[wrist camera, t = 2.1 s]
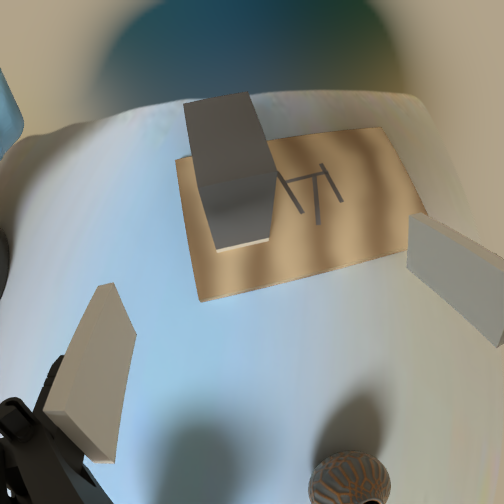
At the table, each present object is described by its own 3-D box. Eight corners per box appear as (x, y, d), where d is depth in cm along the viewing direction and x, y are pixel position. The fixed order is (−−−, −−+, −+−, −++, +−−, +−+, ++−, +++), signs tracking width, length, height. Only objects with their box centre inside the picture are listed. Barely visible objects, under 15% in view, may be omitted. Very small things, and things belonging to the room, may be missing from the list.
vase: (380, 480, 22) (420, 511, 14) (318, 513, 21) (340, 557, 13) (357, 431, 24) (396, 453, 16) (291, 464, 23) (306, 502, 15)
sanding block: (202, 183, 32) (183, 103, 21) (248, 173, 32) (247, 91, 21) (217, 252, 29) (197, 188, 18) (268, 240, 29) (277, 171, 19)
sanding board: (201, 302, 29) (198, 299, 27) (177, 166, 34) (175, 159, 33) (432, 242, 31) (437, 238, 30) (378, 132, 36) (381, 126, 35)
